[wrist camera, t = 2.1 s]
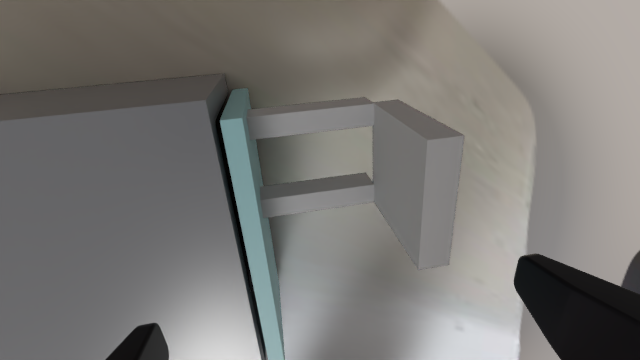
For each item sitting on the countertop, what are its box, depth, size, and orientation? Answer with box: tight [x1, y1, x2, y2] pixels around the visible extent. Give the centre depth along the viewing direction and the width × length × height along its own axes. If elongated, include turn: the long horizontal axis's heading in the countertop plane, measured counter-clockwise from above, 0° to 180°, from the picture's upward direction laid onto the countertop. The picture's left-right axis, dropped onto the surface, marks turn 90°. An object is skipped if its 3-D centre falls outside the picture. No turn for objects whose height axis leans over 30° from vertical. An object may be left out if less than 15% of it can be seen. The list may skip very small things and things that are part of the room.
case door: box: [220, 88, 464, 360], centre depth 17 cm, size 8×14×10 cm, turn 4°
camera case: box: [0, 74, 268, 360], centre depth 18 cm, size 12×18×7 cm
